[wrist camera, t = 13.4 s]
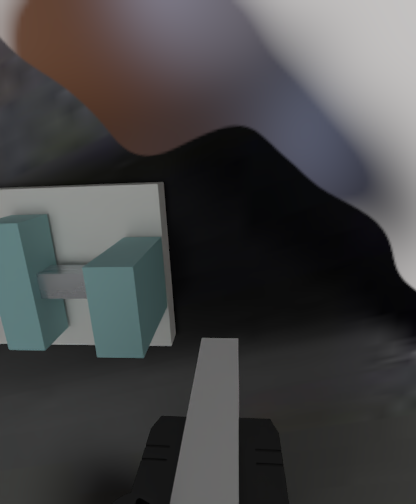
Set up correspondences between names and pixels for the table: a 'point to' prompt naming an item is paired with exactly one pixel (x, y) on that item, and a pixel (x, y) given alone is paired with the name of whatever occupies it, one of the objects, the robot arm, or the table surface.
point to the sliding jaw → (79, 290)
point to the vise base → (95, 237)
